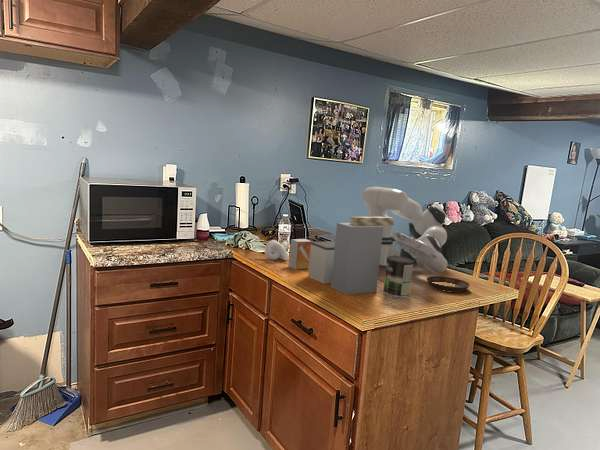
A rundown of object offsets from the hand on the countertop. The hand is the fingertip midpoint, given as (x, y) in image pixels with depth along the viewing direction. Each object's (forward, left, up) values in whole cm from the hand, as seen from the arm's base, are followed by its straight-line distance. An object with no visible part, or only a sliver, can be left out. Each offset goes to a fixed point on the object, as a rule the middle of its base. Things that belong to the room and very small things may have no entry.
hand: (403, 235), depth 176 cm
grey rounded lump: (+30, -54, -21) cm, 65 cm away
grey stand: (+23, 0, -21) cm, 31 cm away
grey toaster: (+22, -16, -21) cm, 35 cm away
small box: (+28, -36, -21) cm, 50 cm away
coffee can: (+9, +9, -21) cm, 25 cm away
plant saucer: (-20, +9, -22) cm, 31 cm away
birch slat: (+17, 0, +5) cm, 18 cm away
